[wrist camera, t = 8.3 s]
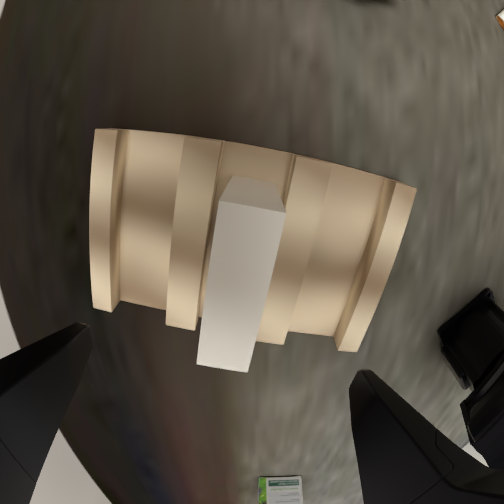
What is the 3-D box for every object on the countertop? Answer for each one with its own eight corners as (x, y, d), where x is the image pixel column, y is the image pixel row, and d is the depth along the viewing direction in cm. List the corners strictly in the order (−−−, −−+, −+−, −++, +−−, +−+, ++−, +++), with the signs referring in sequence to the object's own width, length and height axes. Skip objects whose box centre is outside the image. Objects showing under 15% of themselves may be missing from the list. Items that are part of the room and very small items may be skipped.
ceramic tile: (274, 182, 18) (286, 213, 11) (249, 300, 21) (247, 372, 14) (232, 174, 17) (219, 200, 11) (213, 293, 20) (196, 364, 14)
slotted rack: (111, 128, 17) (95, 129, 15) (401, 182, 18) (416, 188, 16) (105, 292, 21) (93, 307, 19) (349, 334, 22) (356, 352, 20)
